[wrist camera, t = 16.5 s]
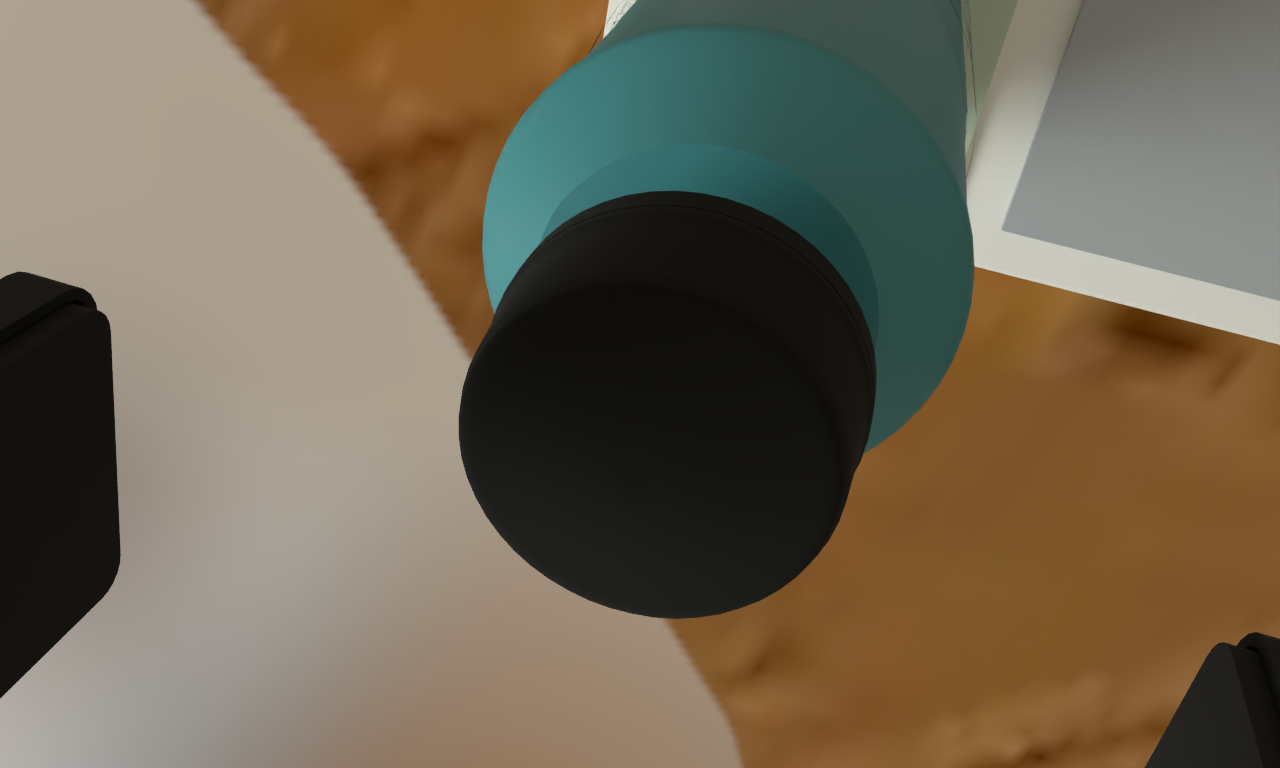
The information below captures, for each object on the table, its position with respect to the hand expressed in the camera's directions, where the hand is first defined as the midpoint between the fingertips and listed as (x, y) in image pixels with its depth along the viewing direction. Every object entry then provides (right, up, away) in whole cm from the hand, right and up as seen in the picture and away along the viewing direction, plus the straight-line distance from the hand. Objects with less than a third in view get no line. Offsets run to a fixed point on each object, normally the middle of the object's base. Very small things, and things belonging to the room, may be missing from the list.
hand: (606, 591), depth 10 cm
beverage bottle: (+5, +11, +18) cm, 22 cm away
